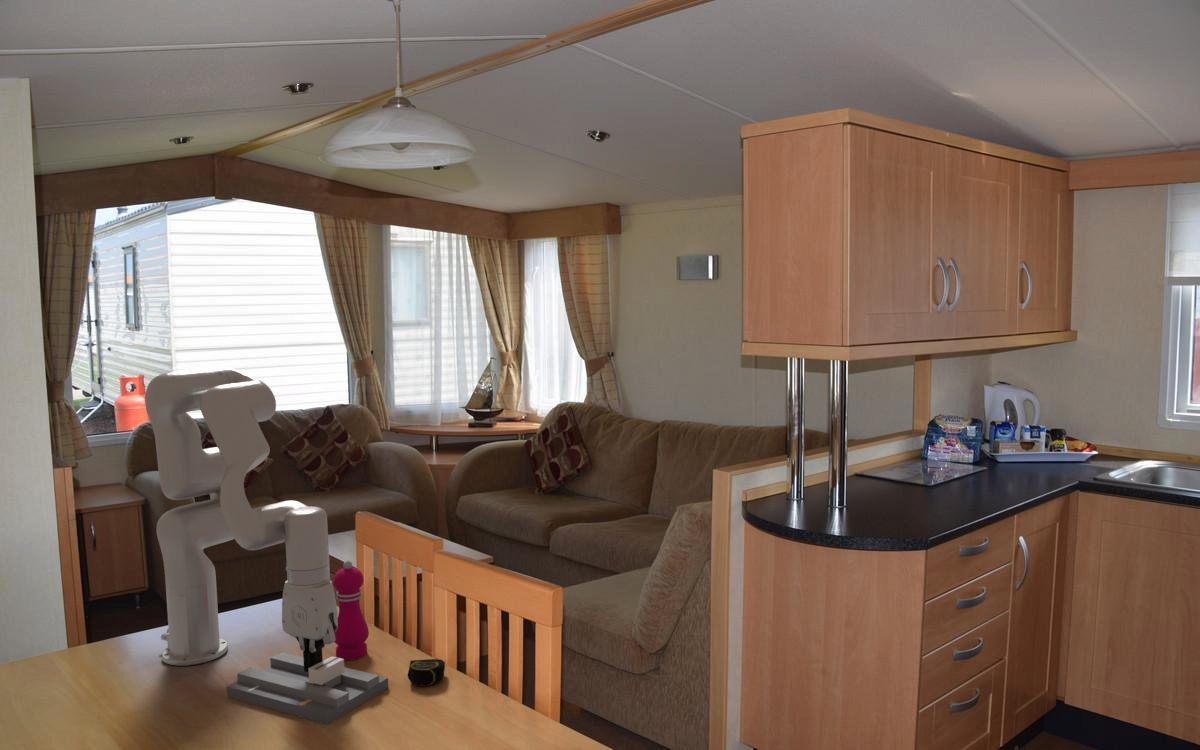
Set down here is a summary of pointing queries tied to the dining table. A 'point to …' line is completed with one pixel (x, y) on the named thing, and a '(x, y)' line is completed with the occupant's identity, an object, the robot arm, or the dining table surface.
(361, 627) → the pepper mill
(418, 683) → the tape measure
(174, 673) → the dining table surface
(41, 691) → the dining table surface
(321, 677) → the fader tab
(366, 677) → the fader console
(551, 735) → the dining table surface
